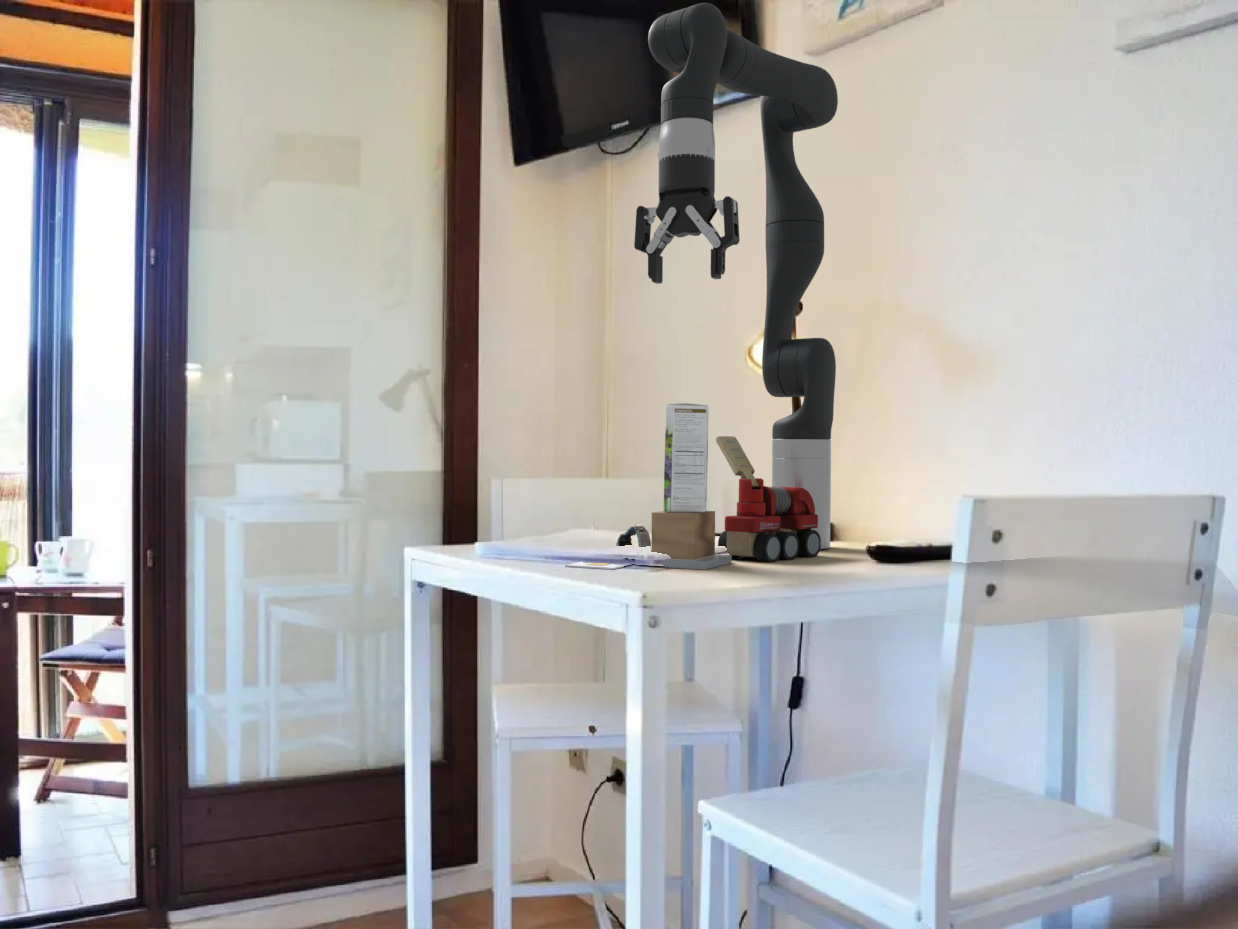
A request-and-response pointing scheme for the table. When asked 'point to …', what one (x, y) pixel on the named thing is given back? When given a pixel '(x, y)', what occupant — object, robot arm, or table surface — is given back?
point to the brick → (684, 534)
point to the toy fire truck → (767, 515)
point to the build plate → (698, 562)
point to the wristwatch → (641, 535)
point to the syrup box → (686, 457)
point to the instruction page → (595, 565)
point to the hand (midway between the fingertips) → (685, 280)
